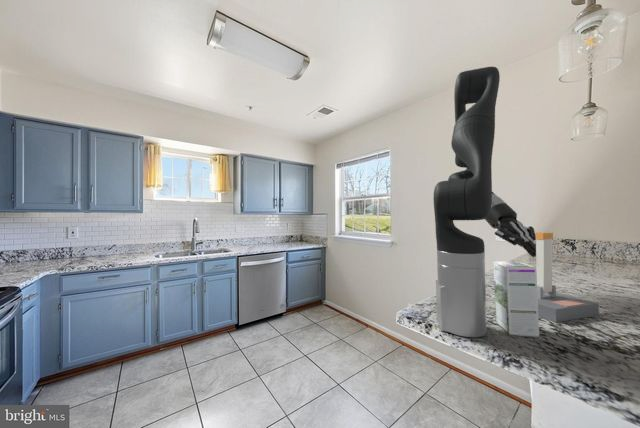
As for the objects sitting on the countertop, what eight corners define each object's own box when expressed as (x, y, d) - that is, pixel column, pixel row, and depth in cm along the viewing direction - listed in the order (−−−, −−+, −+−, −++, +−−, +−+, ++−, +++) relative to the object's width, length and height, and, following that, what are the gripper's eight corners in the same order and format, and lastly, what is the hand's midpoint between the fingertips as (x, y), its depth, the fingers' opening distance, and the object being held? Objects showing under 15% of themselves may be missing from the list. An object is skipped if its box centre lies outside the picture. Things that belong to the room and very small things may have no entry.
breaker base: (498, 301, 69) (497, 280, 69) (535, 296, 72) (535, 276, 72) (555, 322, 55) (555, 296, 55) (598, 315, 58) (598, 290, 58)
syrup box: (540, 337, 49) (539, 266, 49) (508, 335, 50) (506, 265, 50) (523, 324, 54) (521, 261, 54) (493, 323, 55) (492, 260, 55)
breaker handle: (535, 291, 64) (535, 232, 64) (545, 290, 65) (545, 232, 64) (543, 294, 62) (543, 233, 62) (552, 293, 63) (553, 232, 63)
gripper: (485, 202, 73) (529, 247, 61) (519, 202, 76) (567, 245, 64) (470, 219, 78) (509, 264, 66) (502, 218, 81) (545, 261, 69)
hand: (537, 255), depth 65 cm, fingers closed
